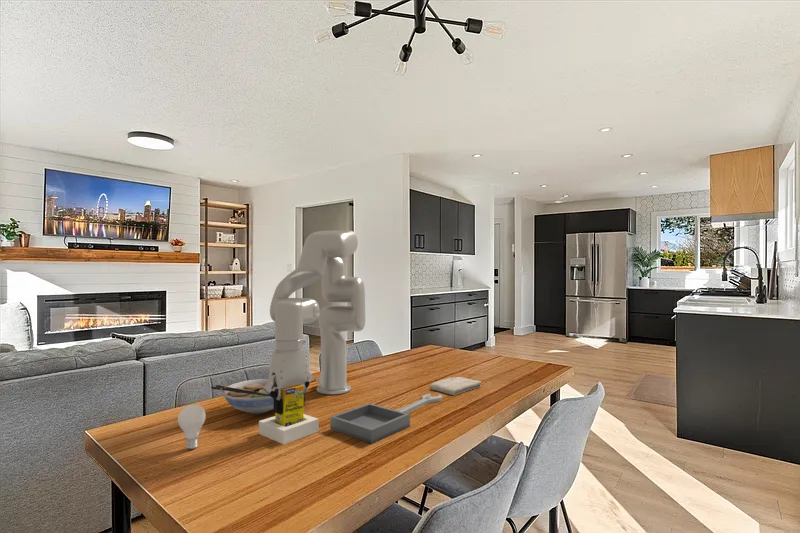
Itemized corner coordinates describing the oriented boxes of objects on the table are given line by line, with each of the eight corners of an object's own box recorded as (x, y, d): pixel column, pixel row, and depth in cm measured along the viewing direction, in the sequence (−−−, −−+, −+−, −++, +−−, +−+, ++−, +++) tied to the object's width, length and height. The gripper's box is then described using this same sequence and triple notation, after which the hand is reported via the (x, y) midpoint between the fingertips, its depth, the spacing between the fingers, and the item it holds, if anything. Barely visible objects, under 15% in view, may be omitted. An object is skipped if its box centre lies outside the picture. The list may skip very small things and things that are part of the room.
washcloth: (483, 387, 164) (483, 379, 164) (454, 397, 152) (454, 388, 152) (459, 381, 173) (459, 374, 173) (429, 390, 161) (429, 382, 161)
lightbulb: (184, 444, 110) (184, 401, 110) (209, 443, 111) (209, 400, 111) (173, 454, 104) (173, 409, 104) (200, 453, 104) (200, 408, 105)
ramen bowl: (313, 405, 142) (313, 380, 142) (264, 428, 121) (264, 399, 121) (255, 396, 152) (256, 373, 152) (202, 416, 132) (202, 389, 132)
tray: (330, 429, 120) (330, 416, 120) (369, 414, 133) (369, 403, 133) (371, 443, 110) (371, 430, 110) (409, 426, 123) (409, 414, 123)
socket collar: (258, 433, 117) (258, 420, 117) (293, 422, 126) (293, 410, 126) (283, 444, 110) (283, 430, 110) (318, 431, 119) (318, 418, 119)
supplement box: (284, 430, 114) (284, 389, 114) (274, 423, 119) (274, 384, 119) (304, 424, 118) (304, 385, 118) (294, 418, 123) (294, 380, 123)
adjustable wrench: (396, 419, 130) (396, 413, 130) (381, 415, 134) (381, 409, 134) (445, 400, 148) (445, 395, 148) (430, 396, 152) (430, 391, 152)
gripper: (305, 339, 127) (306, 399, 128) (253, 348, 114) (254, 415, 114) (322, 342, 123) (322, 404, 123) (269, 352, 109) (270, 421, 109)
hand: (289, 409), depth 118 cm, fingers closed on supplement box, 6 cm apart
